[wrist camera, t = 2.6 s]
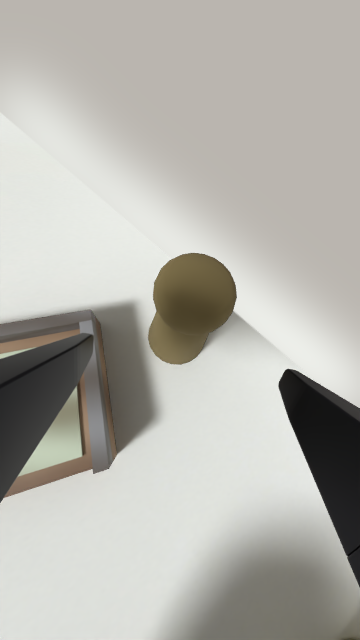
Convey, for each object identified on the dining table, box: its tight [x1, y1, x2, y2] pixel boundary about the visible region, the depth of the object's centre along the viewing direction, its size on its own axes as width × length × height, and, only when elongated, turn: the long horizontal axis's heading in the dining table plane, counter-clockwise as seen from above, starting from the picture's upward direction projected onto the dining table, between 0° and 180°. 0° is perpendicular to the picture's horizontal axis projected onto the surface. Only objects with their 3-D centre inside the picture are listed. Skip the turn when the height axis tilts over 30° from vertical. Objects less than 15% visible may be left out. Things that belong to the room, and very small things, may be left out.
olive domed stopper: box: [148, 253, 237, 364], centre depth 16 cm, size 6×6×11 cm
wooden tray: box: [0, 310, 117, 498], centre depth 15 cm, size 12×13×4 cm
